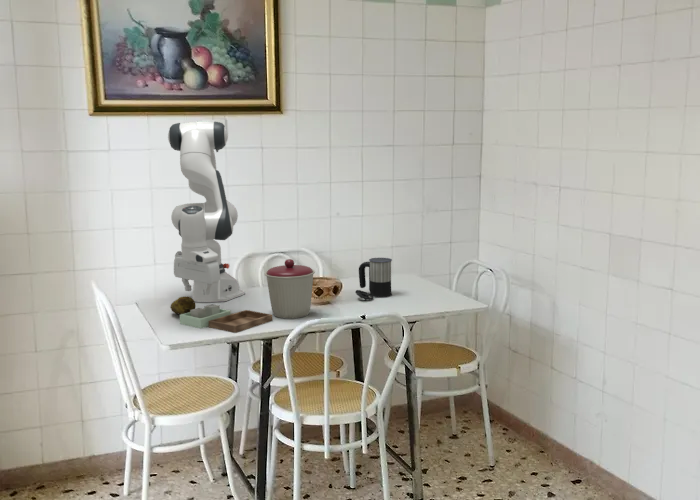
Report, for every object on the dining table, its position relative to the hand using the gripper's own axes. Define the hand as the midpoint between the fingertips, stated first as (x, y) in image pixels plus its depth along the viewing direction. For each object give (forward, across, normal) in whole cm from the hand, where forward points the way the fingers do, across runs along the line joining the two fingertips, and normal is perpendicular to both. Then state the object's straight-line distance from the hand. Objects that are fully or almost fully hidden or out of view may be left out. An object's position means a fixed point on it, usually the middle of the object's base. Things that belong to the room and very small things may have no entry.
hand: (197, 292), depth 256 cm
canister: (+12, +20, +26) cm, 35 cm away
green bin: (+12, +1, +2) cm, 12 cm away
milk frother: (+13, +28, +67) cm, 73 cm away
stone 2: (+11, +1, +6) cm, 12 cm away
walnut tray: (+12, +14, +7) cm, 19 cm away
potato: (+12, -14, +5) cm, 20 cm away
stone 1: (+11, +1, -1) cm, 11 cm away
